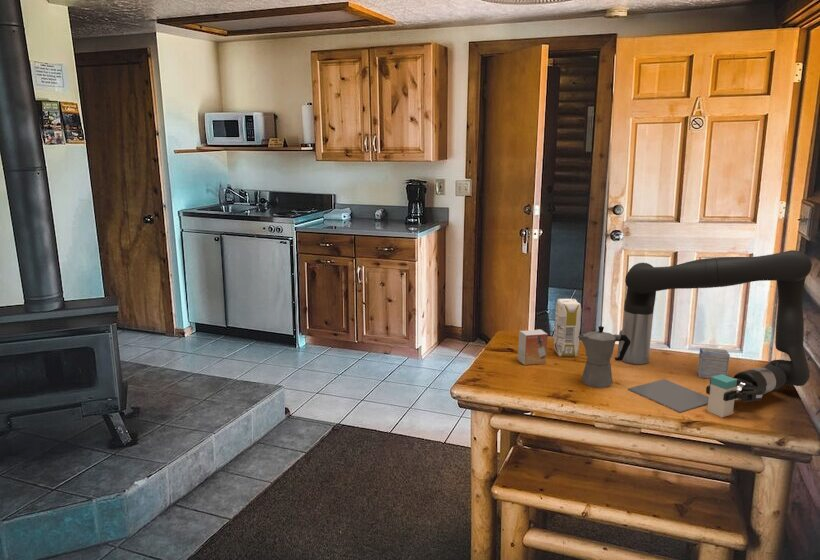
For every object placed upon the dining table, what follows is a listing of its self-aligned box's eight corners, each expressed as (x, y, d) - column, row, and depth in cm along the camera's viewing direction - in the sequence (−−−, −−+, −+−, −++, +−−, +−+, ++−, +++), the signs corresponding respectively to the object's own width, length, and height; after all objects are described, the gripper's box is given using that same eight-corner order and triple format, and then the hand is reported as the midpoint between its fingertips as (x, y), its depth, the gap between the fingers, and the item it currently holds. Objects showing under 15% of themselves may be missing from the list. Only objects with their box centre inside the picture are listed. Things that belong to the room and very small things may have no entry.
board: (627, 389, 180) (627, 388, 180) (664, 380, 187) (664, 378, 187) (679, 412, 165) (680, 411, 164) (717, 401, 172) (717, 400, 172)
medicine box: (723, 375, 192) (727, 349, 190) (726, 380, 188) (730, 354, 186) (696, 372, 194) (699, 347, 192) (699, 377, 190) (702, 351, 188)
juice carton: (557, 357, 207) (561, 304, 203) (551, 349, 215) (555, 297, 211) (579, 357, 207) (583, 304, 203) (572, 349, 215) (576, 297, 211)
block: (707, 411, 166) (711, 376, 164) (717, 407, 168) (721, 374, 166) (722, 417, 162) (726, 382, 160) (732, 414, 164) (737, 379, 162)
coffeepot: (576, 387, 182) (581, 330, 178) (572, 375, 191) (576, 320, 187) (629, 390, 180) (635, 332, 176) (623, 378, 189) (628, 323, 185)
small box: (524, 365, 199) (525, 335, 197) (517, 359, 204) (518, 330, 202) (546, 363, 201) (548, 333, 199) (539, 358, 206) (540, 328, 204)
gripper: (732, 362, 176) (694, 372, 168) (781, 378, 163) (743, 390, 155) (729, 386, 177) (691, 397, 169) (777, 404, 165) (739, 417, 157)
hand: (716, 393), depth 162 cm, fingers closed on block, 4 cm apart
